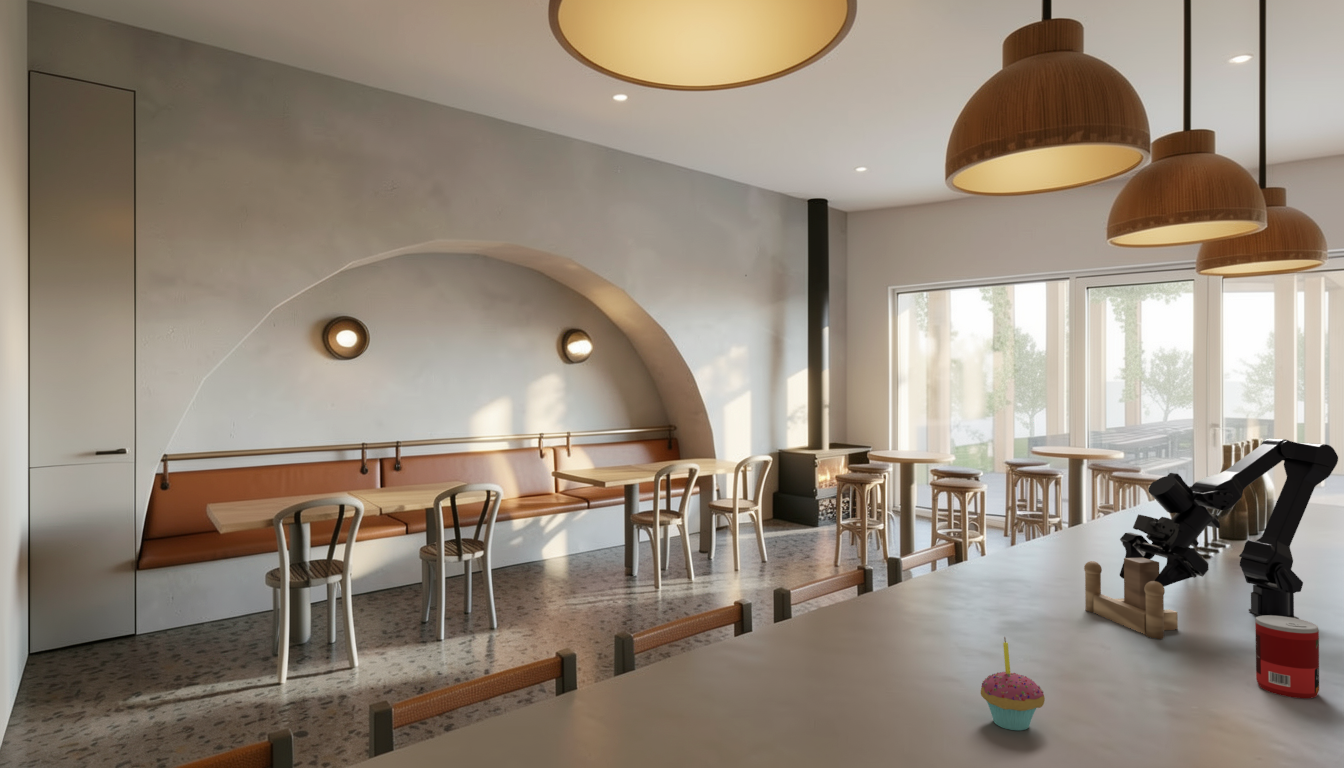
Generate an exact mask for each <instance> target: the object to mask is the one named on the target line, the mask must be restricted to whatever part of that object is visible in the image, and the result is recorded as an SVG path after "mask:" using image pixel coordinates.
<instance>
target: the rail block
mask: <svg viewBox="0 0 1344 768" xmlns="http://www.w3.org/2000/svg"><path fill="white" fill-rule="evenodd" d="M1123 563H1124V579H1123V598H1124V603H1126V604H1129V605H1131V606H1134V607H1137V608H1139V609H1142V610H1145V611H1146V593H1145V590H1144V587H1145V585H1146V584H1147V583H1148V582H1150V581H1155V579H1156V578H1157V576H1158V575H1159V574H1160V561H1156V560H1153V559H1146V558H1125V557H1124V558H1123Z"/></svg>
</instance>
